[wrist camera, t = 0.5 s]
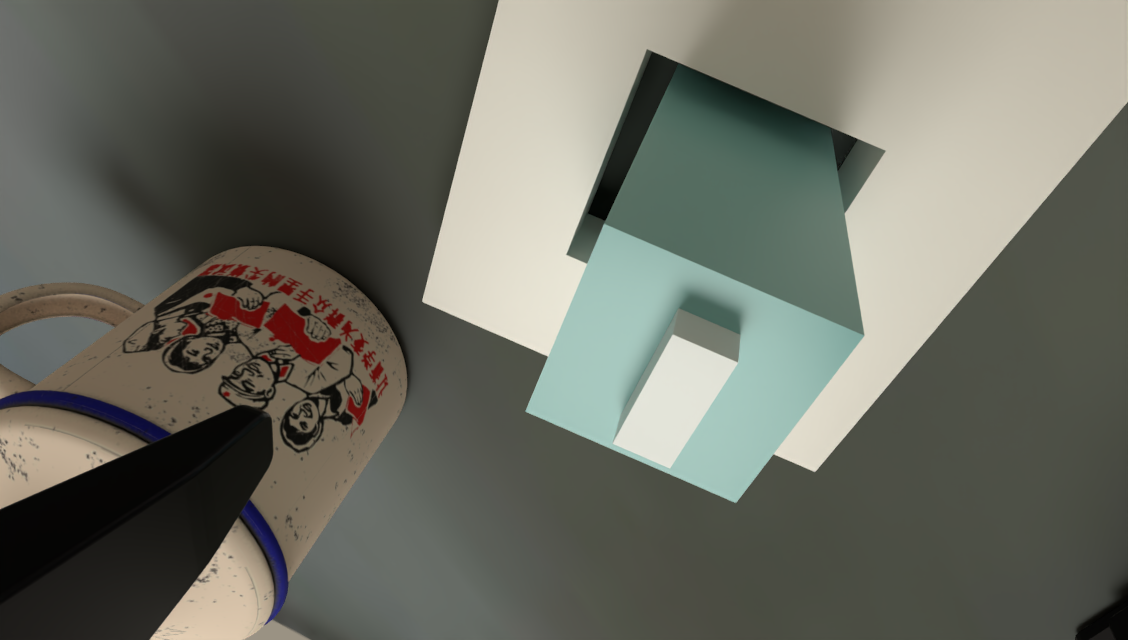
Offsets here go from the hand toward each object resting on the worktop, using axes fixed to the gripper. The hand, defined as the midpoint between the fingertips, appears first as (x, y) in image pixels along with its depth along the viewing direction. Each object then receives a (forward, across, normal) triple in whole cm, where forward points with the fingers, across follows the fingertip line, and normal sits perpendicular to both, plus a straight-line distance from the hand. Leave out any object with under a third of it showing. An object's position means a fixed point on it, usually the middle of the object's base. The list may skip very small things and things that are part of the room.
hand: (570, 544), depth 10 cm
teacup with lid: (+12, +13, +10) cm, 20 cm away
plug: (+12, -1, -1) cm, 12 cm away
